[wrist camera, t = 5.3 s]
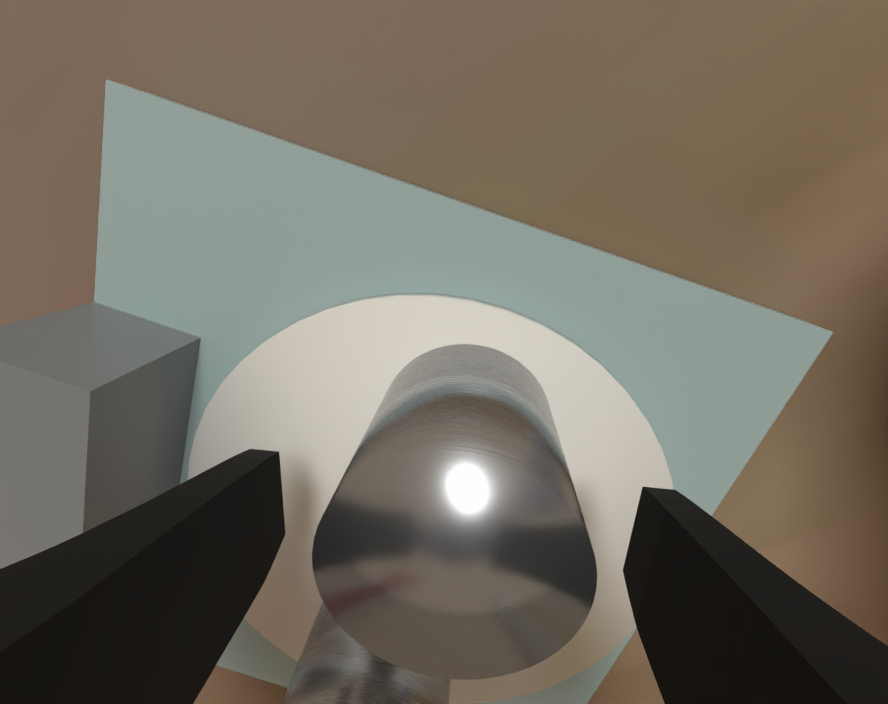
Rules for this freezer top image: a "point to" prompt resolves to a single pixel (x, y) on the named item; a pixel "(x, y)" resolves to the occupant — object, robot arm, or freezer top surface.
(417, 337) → the scale
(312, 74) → the freezer top surface
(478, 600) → the cylinder
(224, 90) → the freezer top surface
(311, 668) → the cylinder
